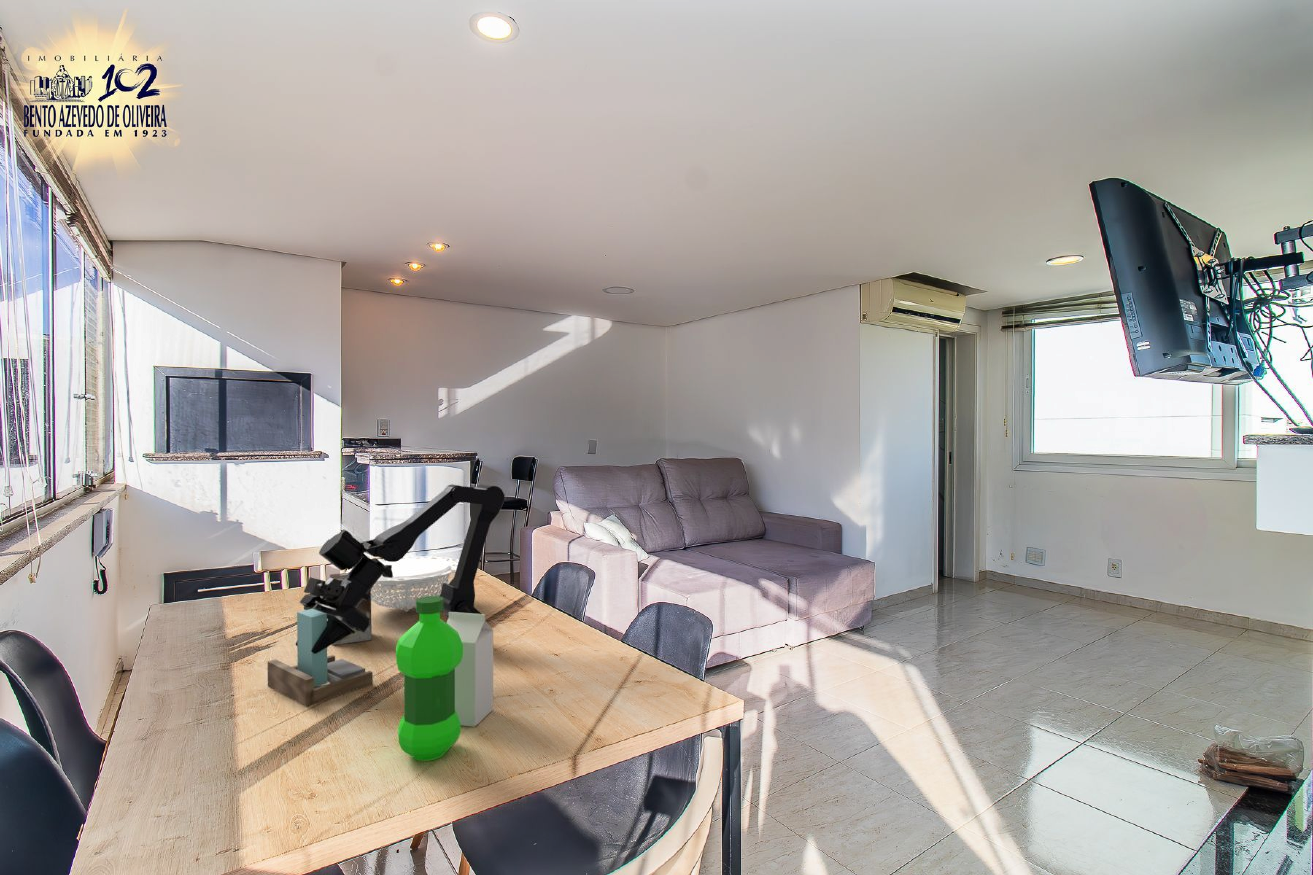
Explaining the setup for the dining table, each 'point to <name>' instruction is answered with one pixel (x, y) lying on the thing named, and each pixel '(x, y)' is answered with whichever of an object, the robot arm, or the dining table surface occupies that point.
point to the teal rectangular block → (311, 645)
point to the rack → (311, 683)
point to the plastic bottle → (429, 683)
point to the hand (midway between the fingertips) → (305, 649)
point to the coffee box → (362, 607)
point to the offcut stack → (342, 670)
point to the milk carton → (473, 668)
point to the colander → (412, 580)
